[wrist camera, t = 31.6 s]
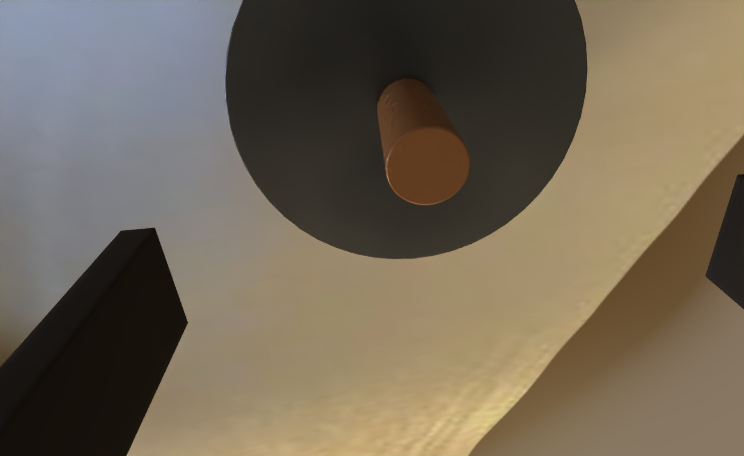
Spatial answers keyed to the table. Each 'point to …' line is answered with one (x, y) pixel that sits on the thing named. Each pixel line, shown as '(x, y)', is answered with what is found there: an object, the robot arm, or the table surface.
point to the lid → (404, 114)
